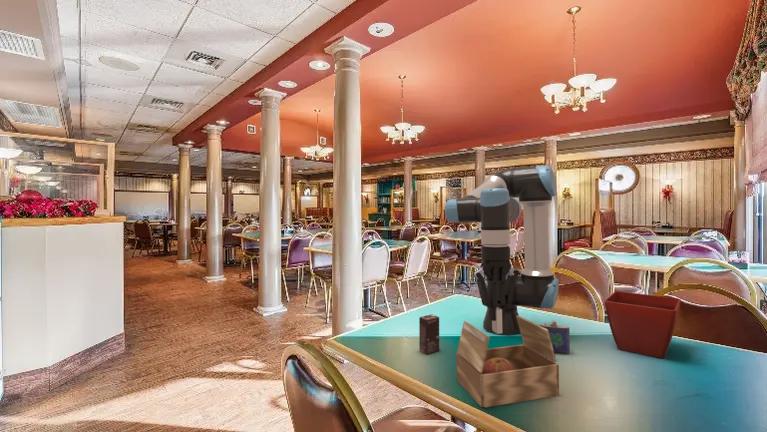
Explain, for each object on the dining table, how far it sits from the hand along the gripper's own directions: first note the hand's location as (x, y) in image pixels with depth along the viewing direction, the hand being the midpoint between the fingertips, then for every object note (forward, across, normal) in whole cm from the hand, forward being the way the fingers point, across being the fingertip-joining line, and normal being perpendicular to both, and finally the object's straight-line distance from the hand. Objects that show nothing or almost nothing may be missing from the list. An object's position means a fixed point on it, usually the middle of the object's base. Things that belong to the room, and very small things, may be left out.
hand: (497, 331), depth 98 cm
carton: (+16, -2, 0) cm, 16 cm away
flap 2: (+7, -13, 0) cm, 15 cm away
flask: (+16, -31, -17) cm, 39 cm away
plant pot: (+15, -61, -11) cm, 64 cm away
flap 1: (+7, +8, 0) cm, 11 cm away
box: (+16, +9, -30) cm, 35 cm away
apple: (+16, 0, 0) cm, 16 cm away
